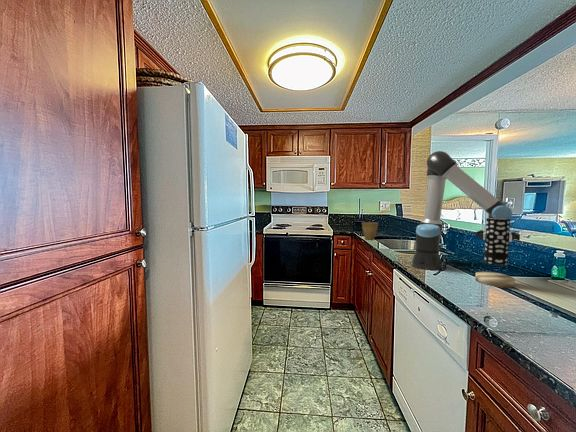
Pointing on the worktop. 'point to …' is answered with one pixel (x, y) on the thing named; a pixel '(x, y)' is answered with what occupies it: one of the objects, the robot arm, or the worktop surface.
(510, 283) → the maple plinth
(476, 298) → the worktop surface
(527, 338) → the worktop surface
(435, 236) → the robot arm
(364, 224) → the plant pot
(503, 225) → the spotted tube
